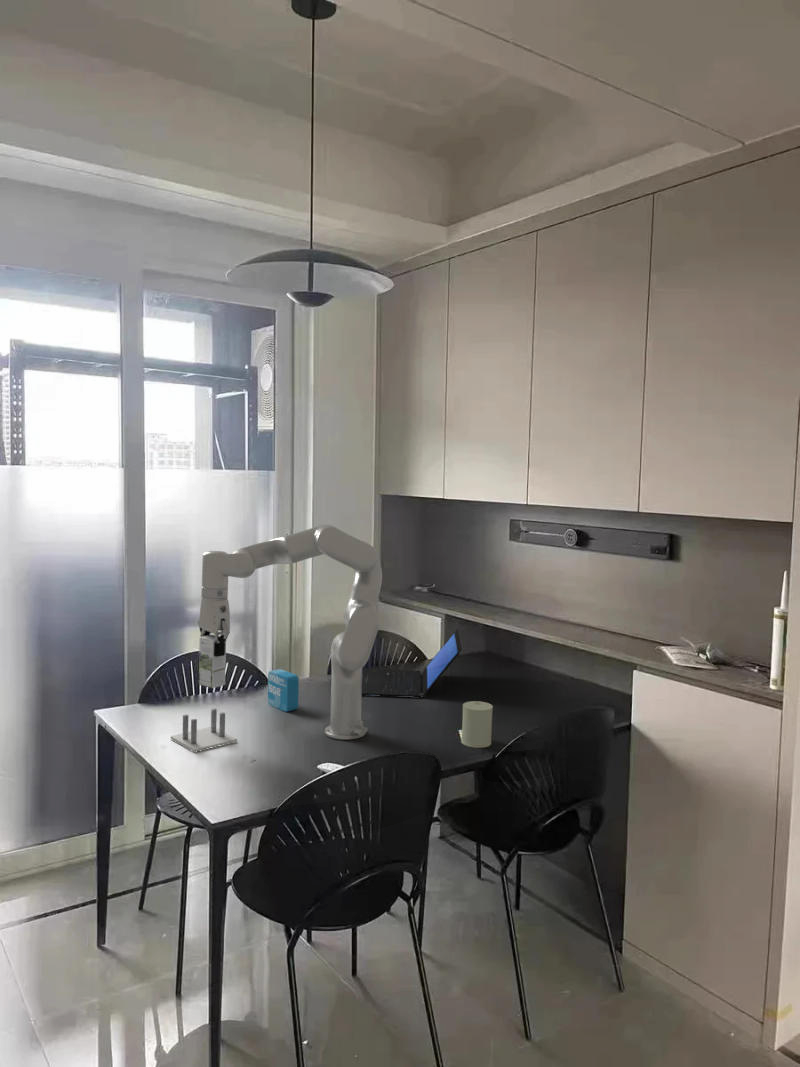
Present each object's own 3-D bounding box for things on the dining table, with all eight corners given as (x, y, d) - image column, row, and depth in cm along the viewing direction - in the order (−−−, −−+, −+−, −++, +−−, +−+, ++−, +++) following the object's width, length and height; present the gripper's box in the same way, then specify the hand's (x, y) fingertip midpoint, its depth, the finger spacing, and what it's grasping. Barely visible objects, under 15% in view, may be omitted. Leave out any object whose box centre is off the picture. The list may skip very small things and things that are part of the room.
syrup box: (225, 684, 234) (227, 636, 233) (211, 688, 229) (213, 639, 228) (211, 681, 237) (213, 633, 236) (197, 685, 232) (198, 636, 230)
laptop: (362, 672, 316) (364, 625, 315) (456, 677, 315) (458, 629, 314) (355, 697, 283) (356, 644, 282) (459, 701, 282) (461, 648, 280)
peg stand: (237, 742, 233) (237, 715, 233) (194, 752, 224) (194, 725, 223) (212, 729, 243) (212, 704, 243) (170, 739, 234) (170, 713, 233)
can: (487, 737, 245) (488, 699, 244) (494, 747, 236) (496, 708, 235) (458, 737, 244) (459, 699, 243) (464, 748, 235) (466, 708, 234)
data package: (267, 704, 270) (267, 670, 269) (278, 702, 274) (278, 668, 273) (287, 713, 262) (288, 677, 261) (298, 710, 265) (299, 675, 264)
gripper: (241, 596, 227) (239, 657, 228) (210, 588, 239) (208, 646, 241) (219, 598, 222) (216, 661, 223) (188, 589, 234) (186, 648, 236)
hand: (212, 652), depth 232 cm, fingers closed on syrup box, 6 cm apart
